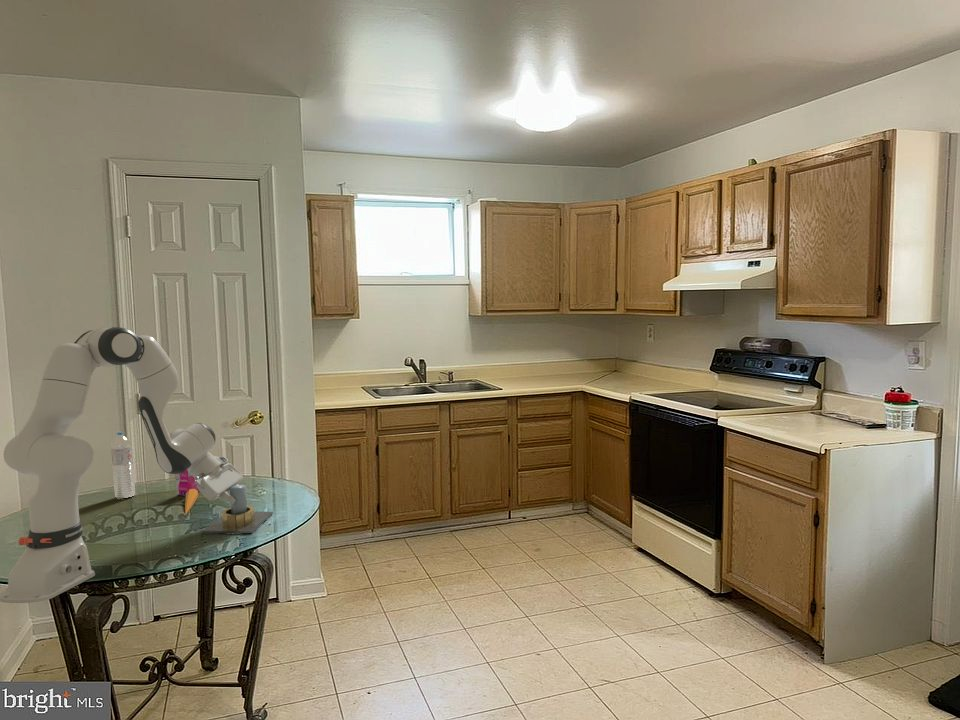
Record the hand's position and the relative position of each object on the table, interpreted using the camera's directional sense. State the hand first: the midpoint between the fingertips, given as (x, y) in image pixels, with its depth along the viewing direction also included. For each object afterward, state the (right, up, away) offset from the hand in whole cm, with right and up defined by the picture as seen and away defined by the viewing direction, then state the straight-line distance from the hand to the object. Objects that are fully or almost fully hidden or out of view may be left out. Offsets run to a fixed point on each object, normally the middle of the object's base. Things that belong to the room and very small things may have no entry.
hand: (239, 499), depth 214 cm
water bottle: (-56, -7, +34) cm, 66 cm away
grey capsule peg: (0, -6, +1) cm, 6 cm away
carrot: (-26, -8, +21) cm, 34 cm away
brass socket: (0, -8, +1) cm, 8 cm away
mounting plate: (0, -8, +1) cm, 8 cm away
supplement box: (-32, -6, +36) cm, 49 cm away
